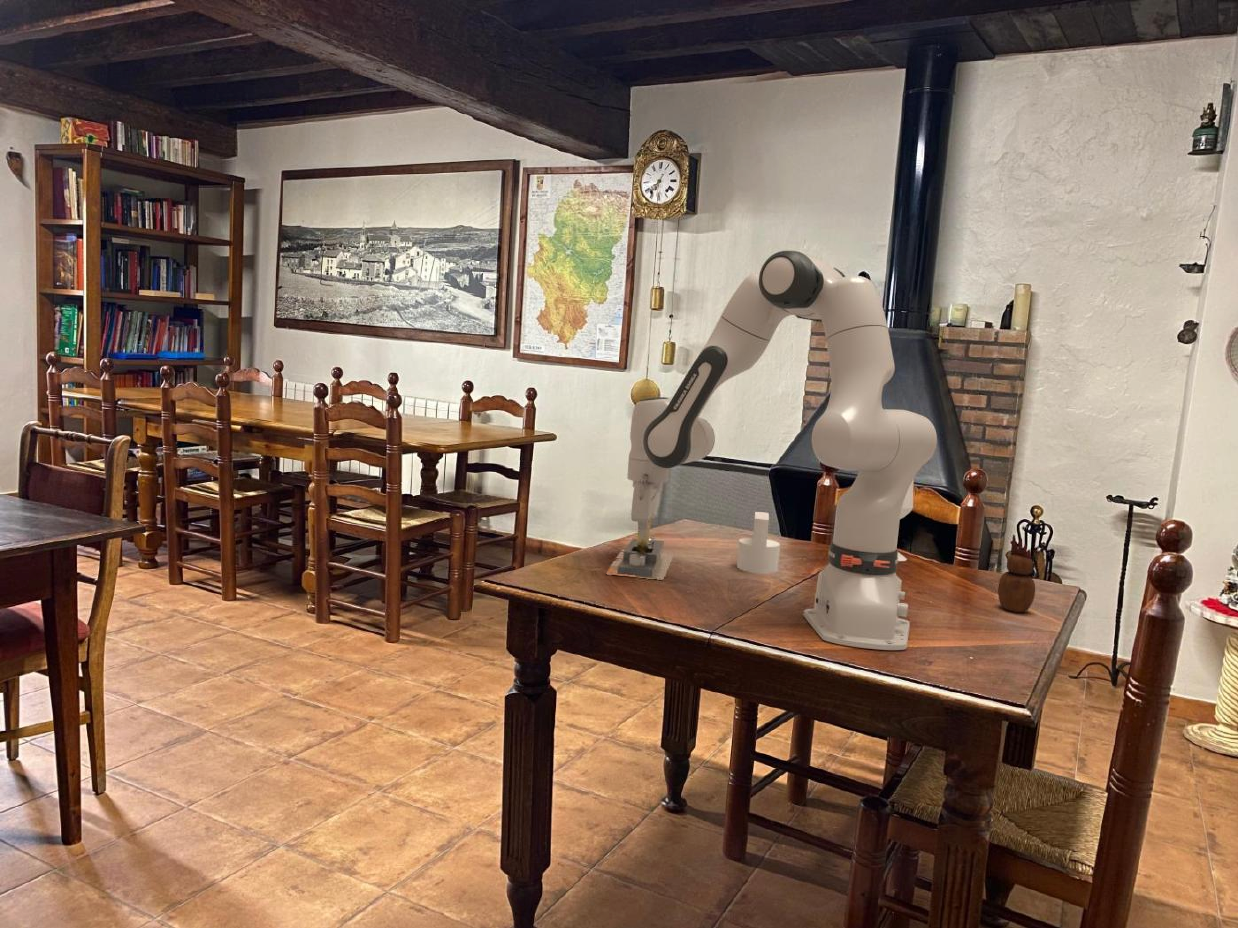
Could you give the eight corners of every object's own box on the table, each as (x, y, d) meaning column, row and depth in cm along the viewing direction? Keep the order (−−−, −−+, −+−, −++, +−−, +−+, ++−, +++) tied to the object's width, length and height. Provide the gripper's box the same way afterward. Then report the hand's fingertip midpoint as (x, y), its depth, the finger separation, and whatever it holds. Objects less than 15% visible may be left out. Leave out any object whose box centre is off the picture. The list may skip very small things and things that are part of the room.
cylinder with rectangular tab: (777, 575, 195) (782, 521, 193) (736, 571, 196) (740, 517, 194) (777, 566, 203) (782, 514, 202) (737, 561, 205) (741, 510, 203)
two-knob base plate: (663, 581, 183) (664, 560, 183) (605, 574, 185) (606, 554, 184) (673, 556, 206) (675, 537, 205) (622, 550, 208) (623, 532, 207)
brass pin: (649, 561, 193) (653, 515, 192) (631, 559, 194) (634, 513, 192) (652, 557, 197) (655, 512, 196) (634, 555, 197) (637, 510, 196)
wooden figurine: (990, 605, 182) (999, 533, 180) (1012, 604, 184) (1021, 532, 182) (1015, 615, 175) (1025, 540, 173) (1038, 614, 177) (1047, 540, 175)
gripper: (657, 479, 182) (652, 546, 184) (667, 467, 202) (663, 527, 204) (626, 477, 183) (622, 543, 185) (639, 465, 203) (635, 525, 205)
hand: (643, 535), depth 195 cm, fingers open, 3 cm apart
